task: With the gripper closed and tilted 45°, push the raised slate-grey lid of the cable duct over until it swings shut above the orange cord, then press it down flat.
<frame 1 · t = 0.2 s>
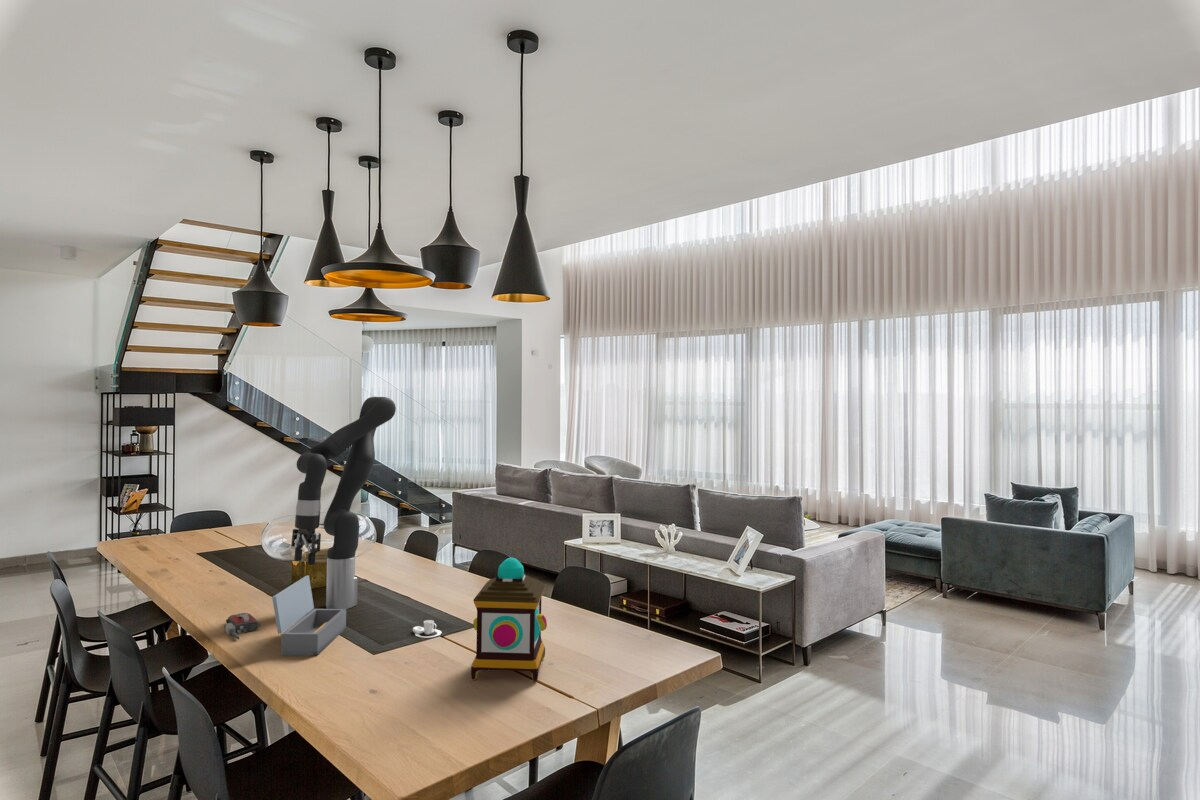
hand: (304, 562, 231), 18 cm above the table, tool pointing down, fingers open, 8 cm apart
duct lid: (294, 602, 207), point 11 cm above the table, hinge at 100.0°
teacup and saucer: (428, 632, 218), on the table
cable duct: (315, 641, 207), on the table
walkie-talkie: (241, 632, 215), on the table
decorative lantern: (509, 670, 188), on the table
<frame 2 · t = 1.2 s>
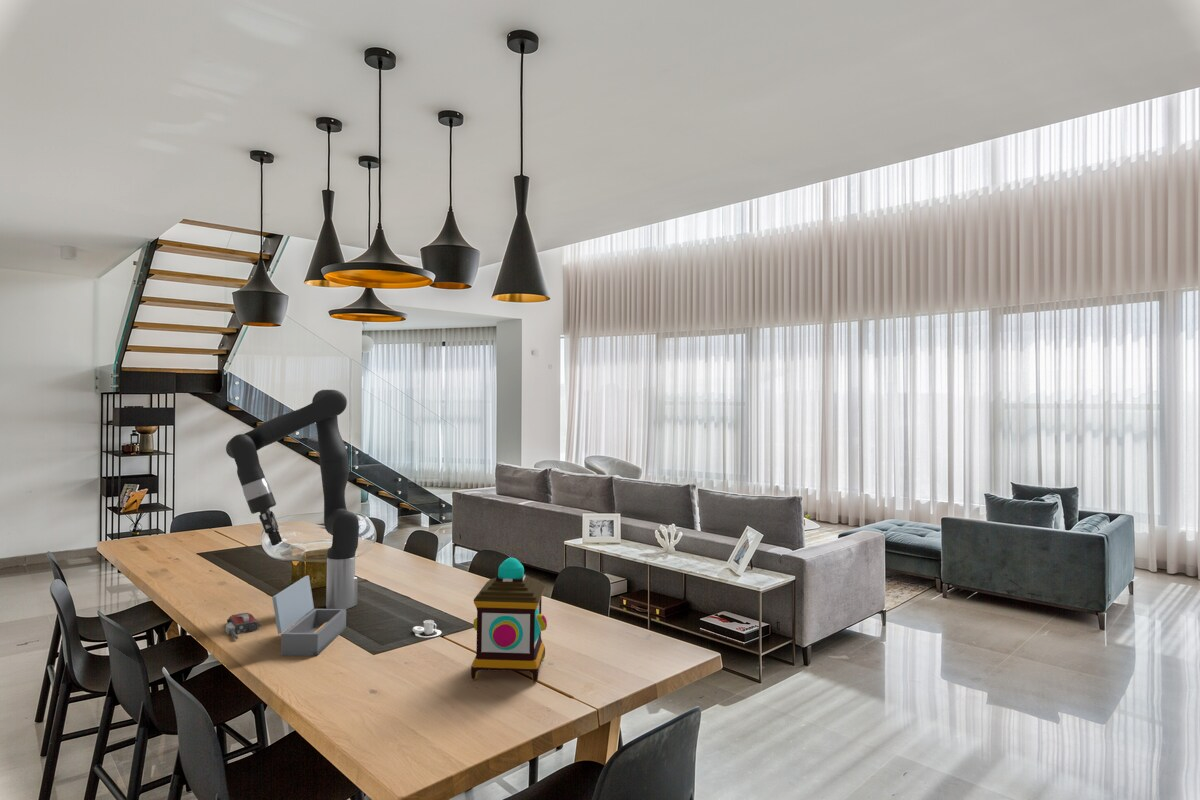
hand: (277, 543, 219), 26 cm above the table, tool tilted 20°, fingers open, 8 cm apart
nothing on the table moved.
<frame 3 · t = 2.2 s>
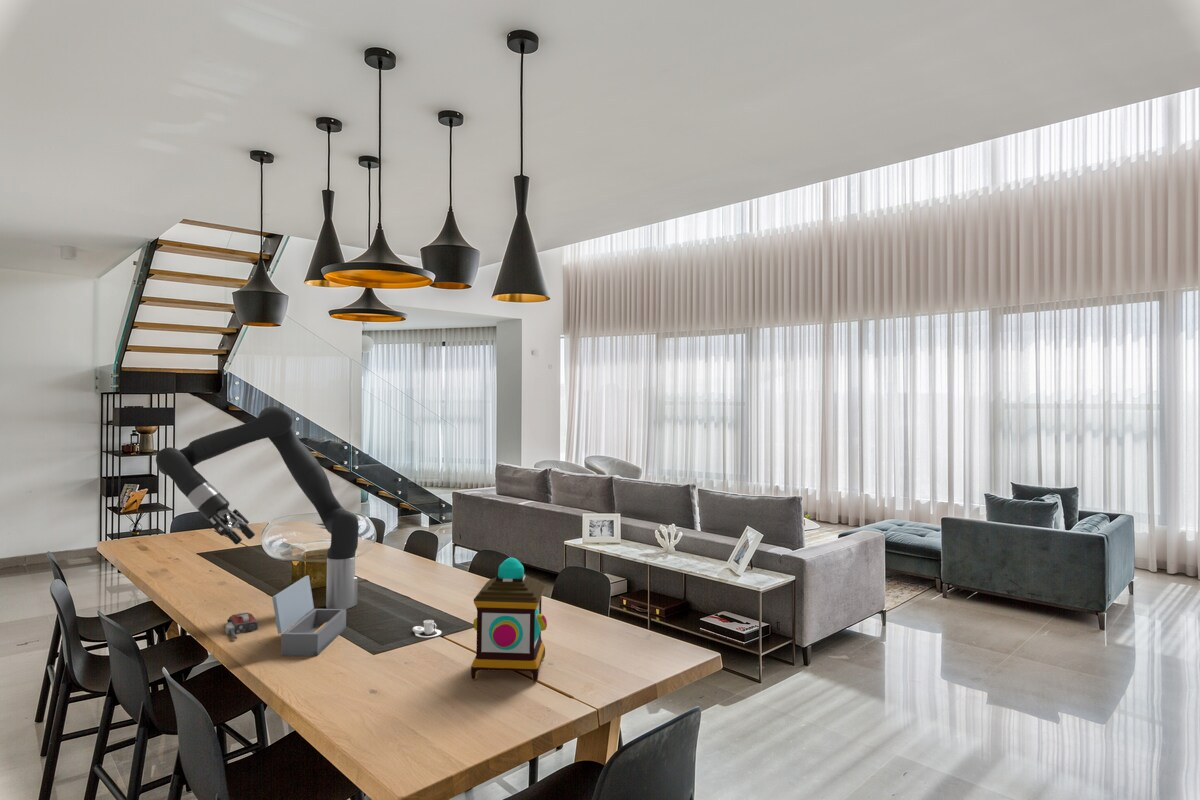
hand: (246, 539, 211), 29 cm above the table, tool tilted 45°, fingers open, 8 cm apart
nothing on the table moved.
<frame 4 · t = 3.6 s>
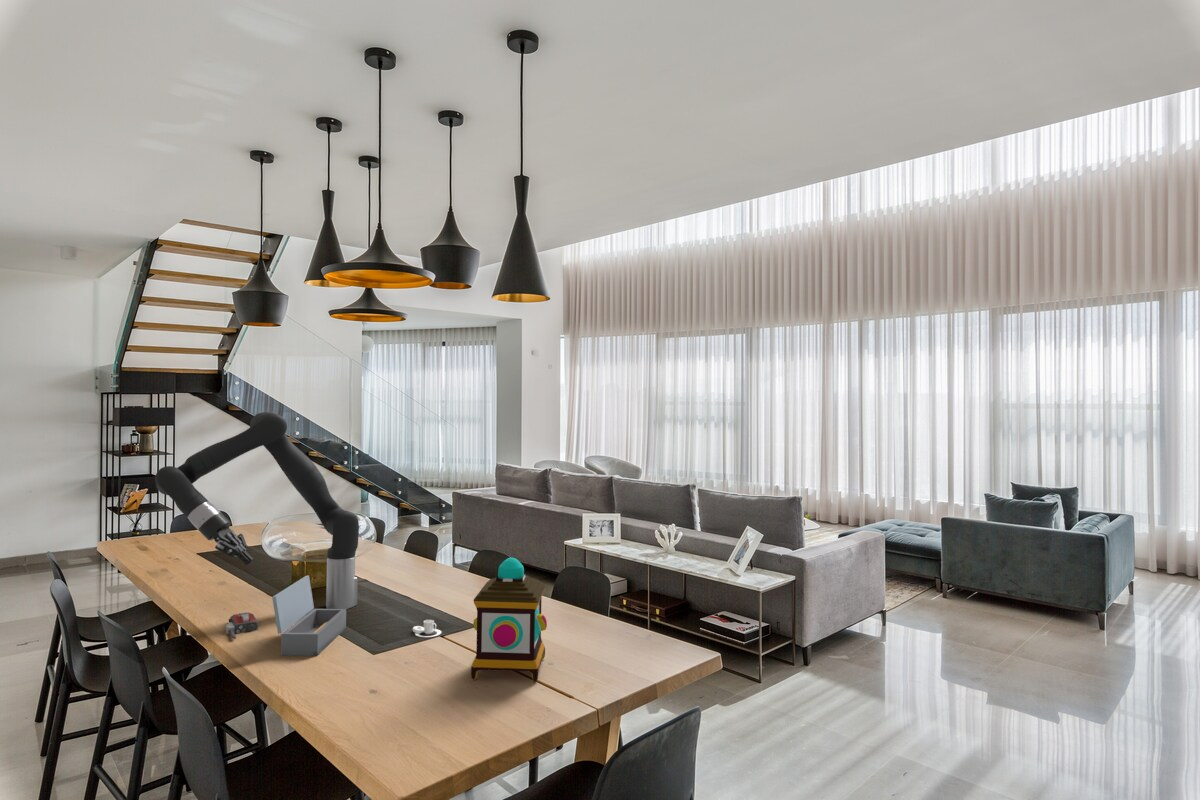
hand: (250, 562, 206), 23 cm above the table, tool tilted 45°, fingers closed
nothing on the table moved.
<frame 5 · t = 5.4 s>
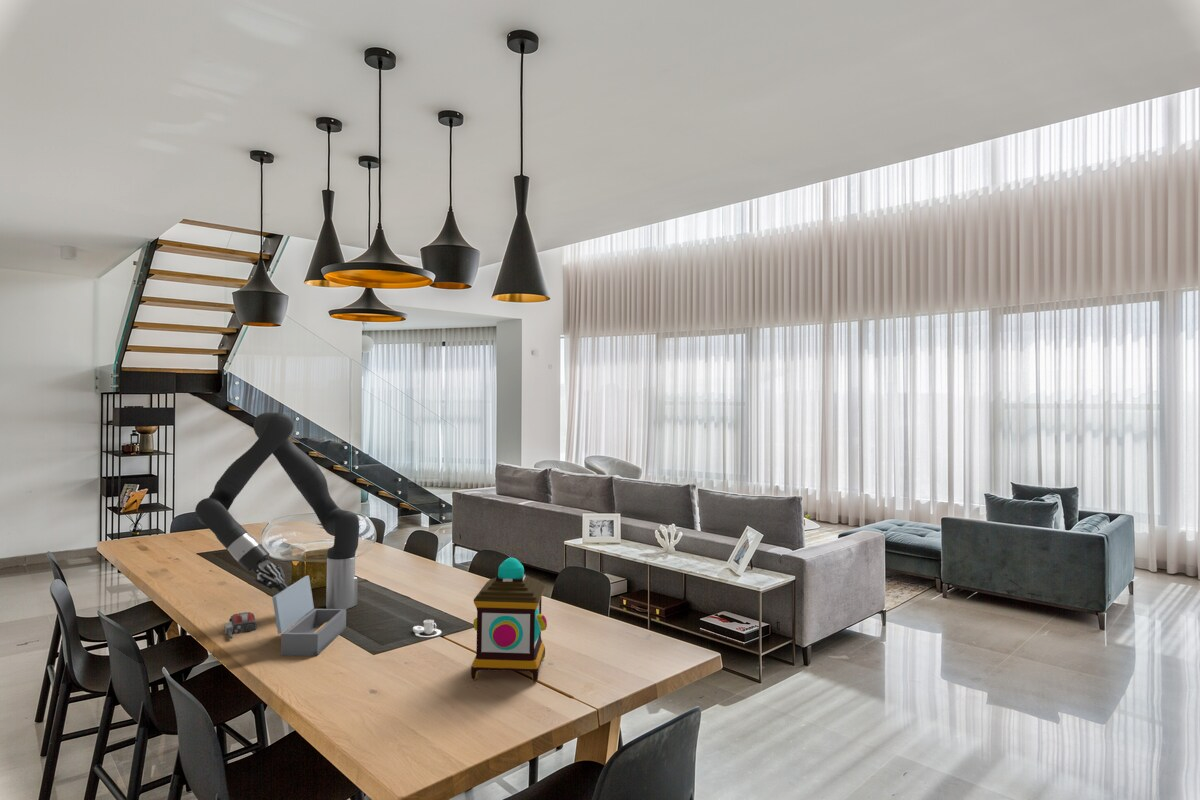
hand: (289, 594, 207), 14 cm above the table, tool tilted 45°, fingers closed
duct lid: (294, 602, 207), point 11 cm above the table, hinge at 99.9°, touching gripper
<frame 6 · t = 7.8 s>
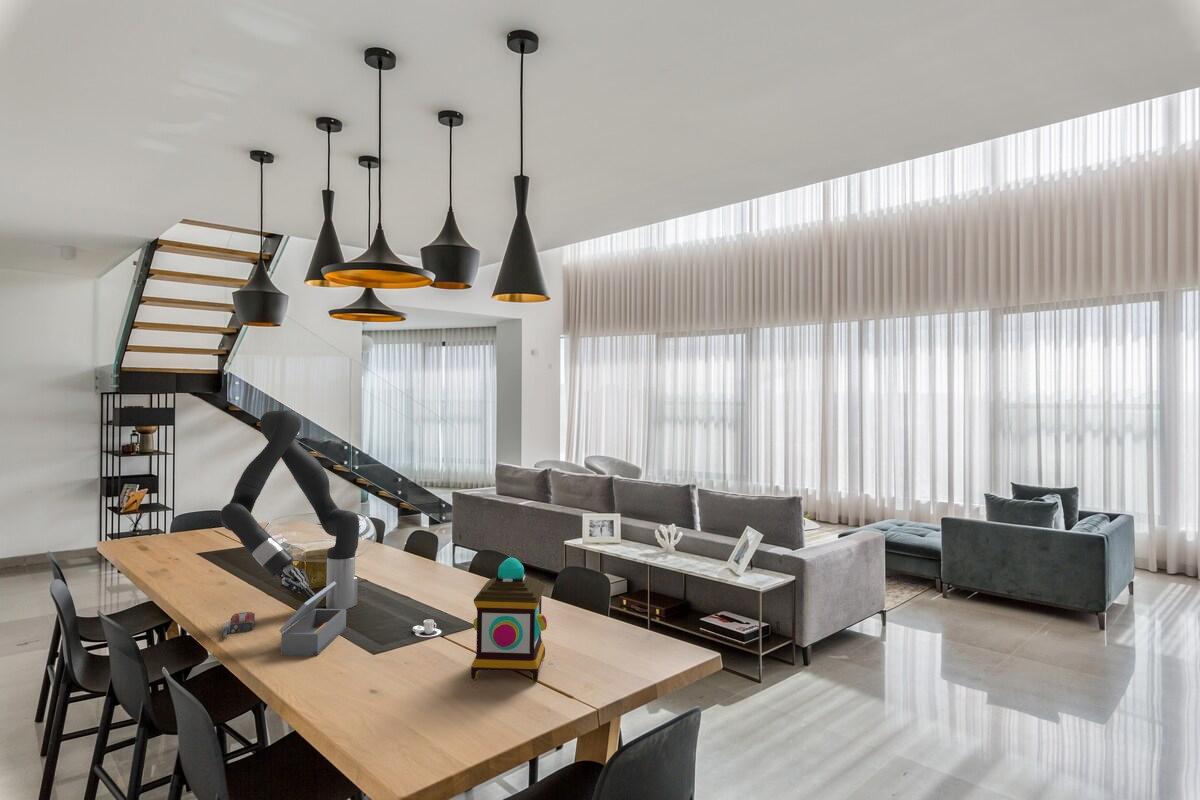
hand: (313, 598, 207), 12 cm above the table, tool tilted 45°, fingers closed
duct lid: (309, 605, 207), point 10 cm above the table, hinge at 48.8°, touching gripper
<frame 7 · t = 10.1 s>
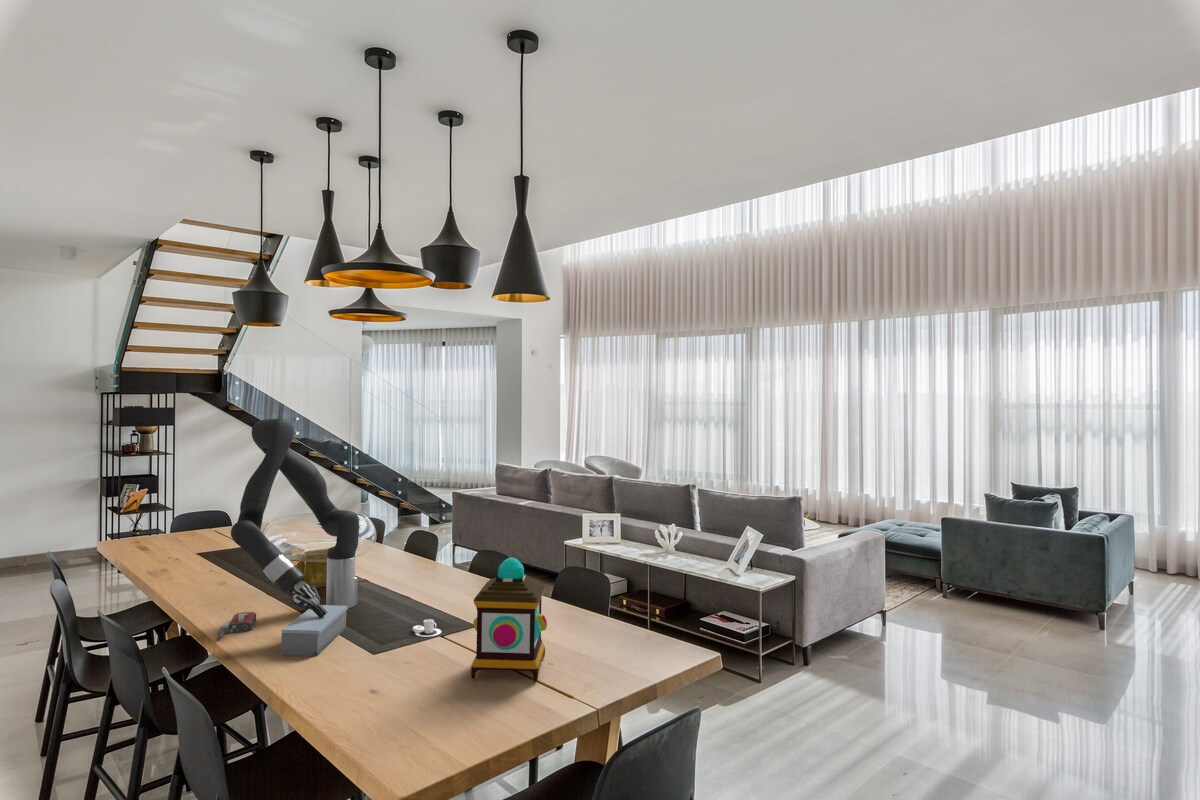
hand: (324, 615, 207), 8 cm above the table, tool tilted 45°, fingers closed
duct lid: (316, 618, 207), point 7 cm above the table, hinge at -1.0°, touching gripper
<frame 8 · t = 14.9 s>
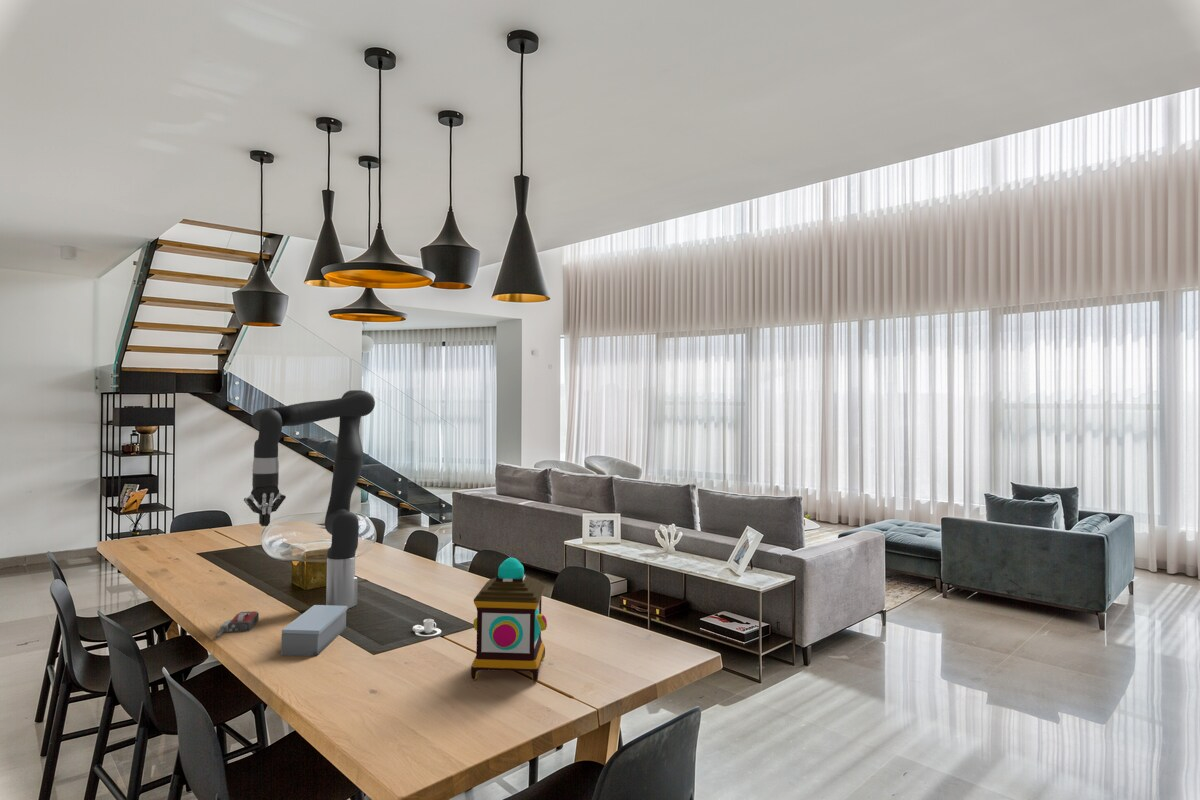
hand: (264, 525, 223), 31 cm above the table, tool pointing down, fingers closed
duct lid: (316, 618, 207), point 7 cm above the table, hinge at -1.0°
at the end: duct lid at -1° (first picture: +100°); walkie-talkie moved 2.4 cm from its start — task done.
